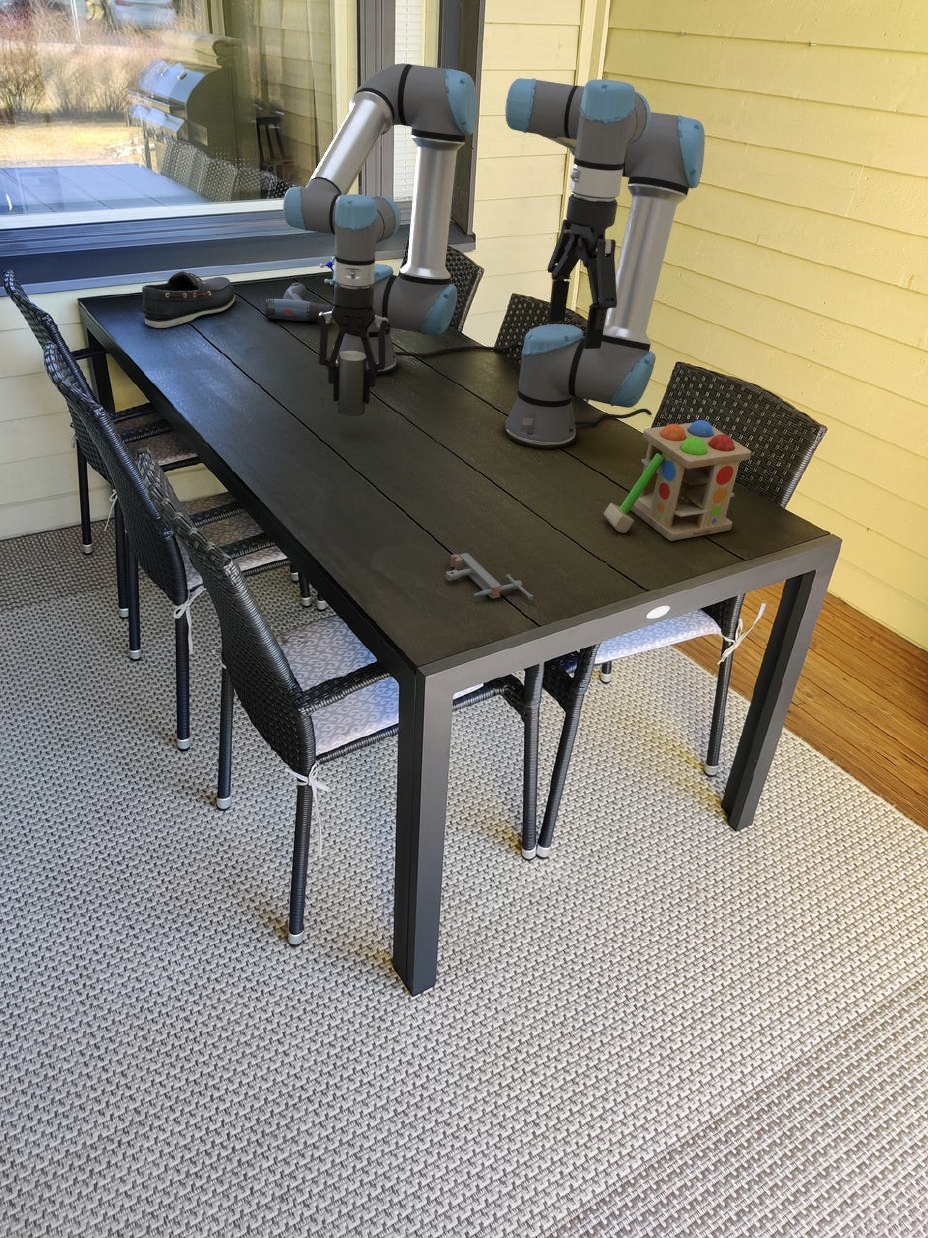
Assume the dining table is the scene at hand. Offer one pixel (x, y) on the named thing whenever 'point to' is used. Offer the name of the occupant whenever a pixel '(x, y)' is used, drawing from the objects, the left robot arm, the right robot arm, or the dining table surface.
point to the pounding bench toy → (683, 482)
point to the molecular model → (331, 269)
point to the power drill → (295, 306)
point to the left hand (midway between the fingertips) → (351, 399)
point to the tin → (351, 383)
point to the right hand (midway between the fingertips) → (573, 333)
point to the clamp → (480, 576)
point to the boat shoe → (185, 299)
